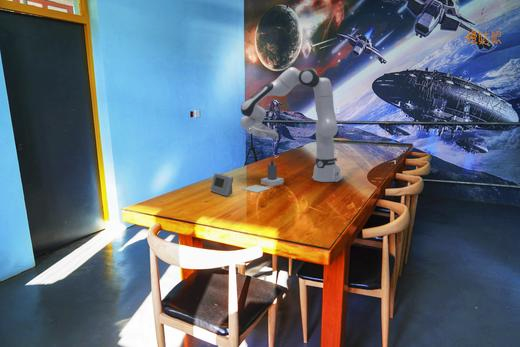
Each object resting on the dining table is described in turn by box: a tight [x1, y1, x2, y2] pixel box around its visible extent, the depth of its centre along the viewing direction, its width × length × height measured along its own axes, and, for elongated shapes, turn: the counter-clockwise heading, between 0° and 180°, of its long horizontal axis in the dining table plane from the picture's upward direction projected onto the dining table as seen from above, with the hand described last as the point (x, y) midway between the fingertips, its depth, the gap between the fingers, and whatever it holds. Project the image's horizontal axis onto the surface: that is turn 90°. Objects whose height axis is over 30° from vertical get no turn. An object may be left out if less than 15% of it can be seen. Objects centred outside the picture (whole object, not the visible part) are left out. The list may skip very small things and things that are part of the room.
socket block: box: [260, 176, 285, 187], centre depth 220 cm, size 10×10×3 cm
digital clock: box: [210, 172, 234, 197], centre depth 198 cm, size 16×9×11 cm, turn 31°
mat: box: [241, 184, 271, 194], centre depth 207 cm, size 12×12×1 cm
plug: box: [267, 159, 278, 180], centre depth 218 cm, size 4×4×15 cm
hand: (272, 137), depth 215 cm, fingers open, 8 cm apart
